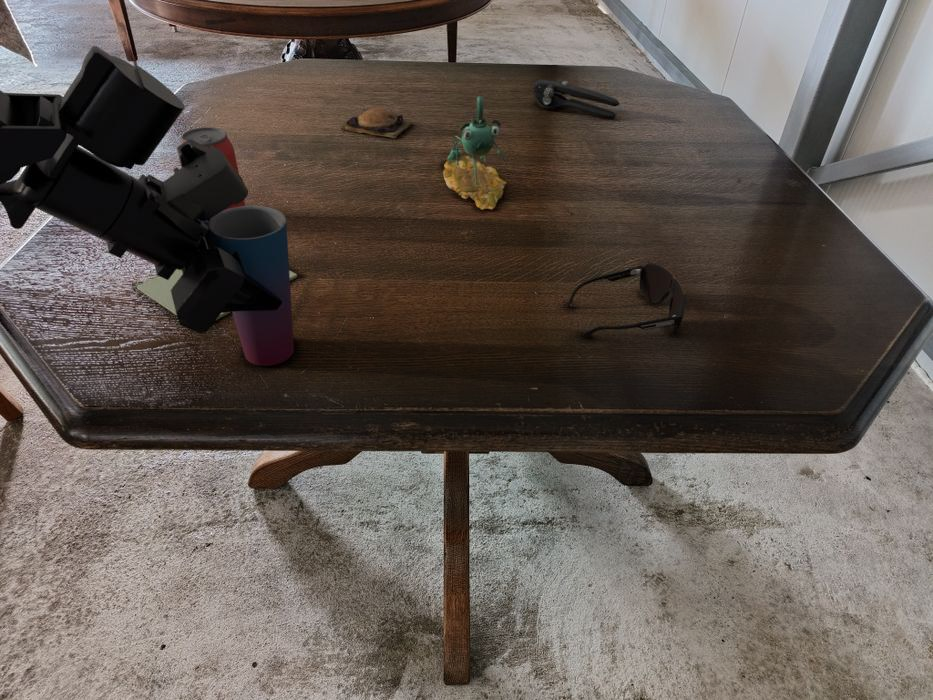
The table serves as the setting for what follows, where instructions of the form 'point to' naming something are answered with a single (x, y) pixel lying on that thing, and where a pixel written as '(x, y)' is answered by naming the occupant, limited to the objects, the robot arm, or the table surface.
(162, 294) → the mat
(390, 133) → the bread roll
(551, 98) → the can opener
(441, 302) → the table surface
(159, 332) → the table surface
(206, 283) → the robot arm
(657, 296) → the sunglasses
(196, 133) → the beer can
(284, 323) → the cup
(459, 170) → the frog figurine
